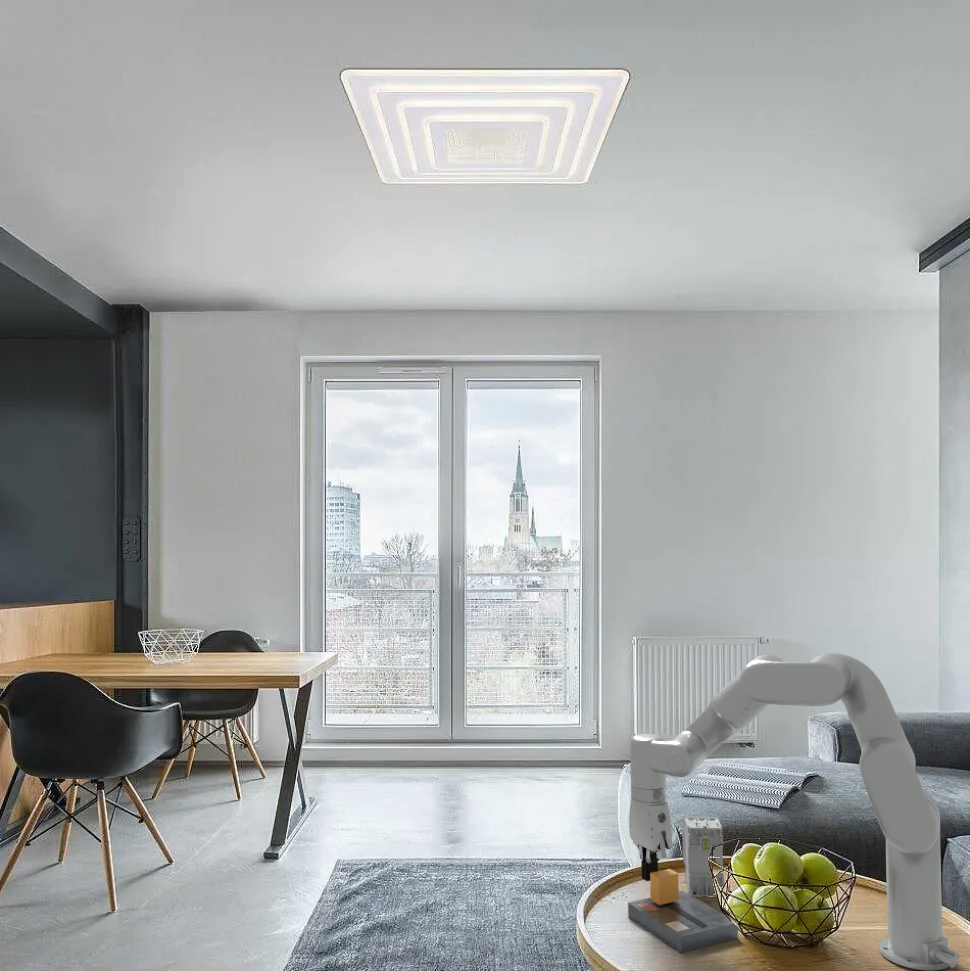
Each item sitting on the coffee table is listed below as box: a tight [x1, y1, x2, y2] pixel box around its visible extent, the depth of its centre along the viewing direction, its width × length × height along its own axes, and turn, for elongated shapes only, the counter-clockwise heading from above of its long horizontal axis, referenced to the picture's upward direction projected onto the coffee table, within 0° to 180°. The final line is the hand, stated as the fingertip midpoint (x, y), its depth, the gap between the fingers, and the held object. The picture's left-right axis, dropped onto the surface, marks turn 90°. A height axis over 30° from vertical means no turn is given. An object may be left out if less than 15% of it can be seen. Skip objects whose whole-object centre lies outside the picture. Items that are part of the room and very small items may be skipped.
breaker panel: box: [627, 890, 739, 954], centre depth 190 cm, size 18×14×3 cm
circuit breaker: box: [681, 815, 725, 898], centre depth 213 cm, size 8×14×15 cm, turn 174°
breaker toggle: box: [649, 868, 680, 905], centre depth 196 cm, size 3×5×6 cm, turn 115°
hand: (649, 878), depth 200 cm, fingers closed
